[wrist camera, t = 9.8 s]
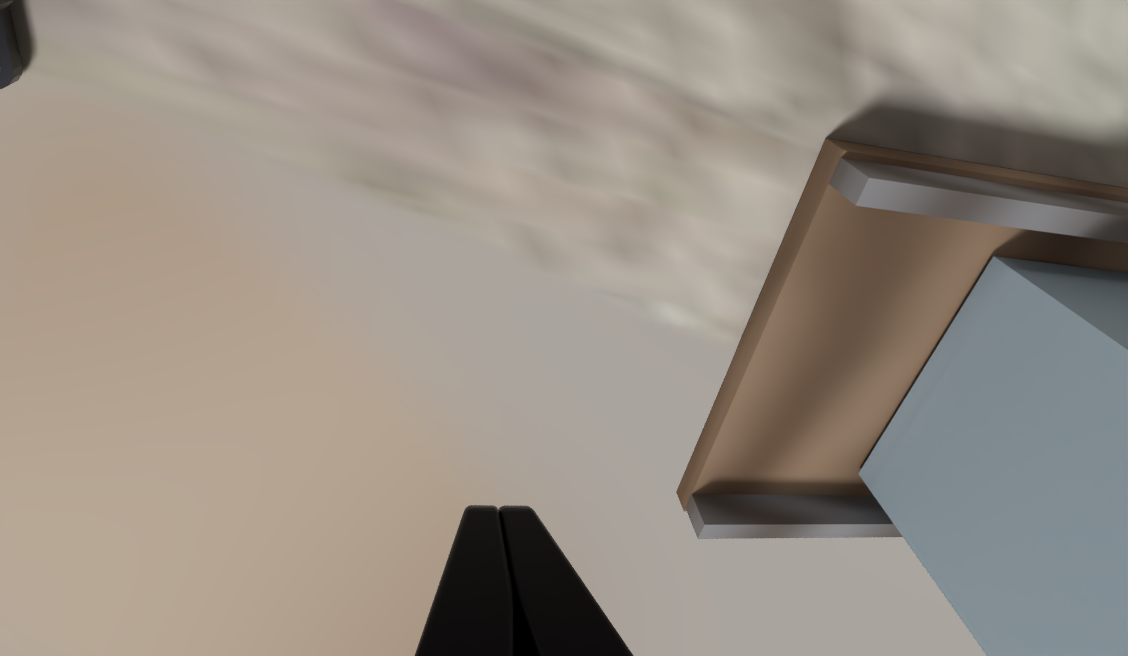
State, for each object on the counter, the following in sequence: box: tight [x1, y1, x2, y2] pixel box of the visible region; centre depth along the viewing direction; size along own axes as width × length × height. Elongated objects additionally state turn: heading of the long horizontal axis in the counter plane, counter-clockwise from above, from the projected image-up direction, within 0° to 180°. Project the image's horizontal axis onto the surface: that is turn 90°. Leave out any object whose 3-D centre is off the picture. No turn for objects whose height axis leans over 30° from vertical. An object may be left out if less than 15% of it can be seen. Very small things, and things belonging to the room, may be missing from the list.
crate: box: [859, 256, 1128, 656], centre depth 21 cm, size 8×10×10 cm
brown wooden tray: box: [677, 138, 1128, 539], centre depth 24 cm, size 18×15×5 cm
